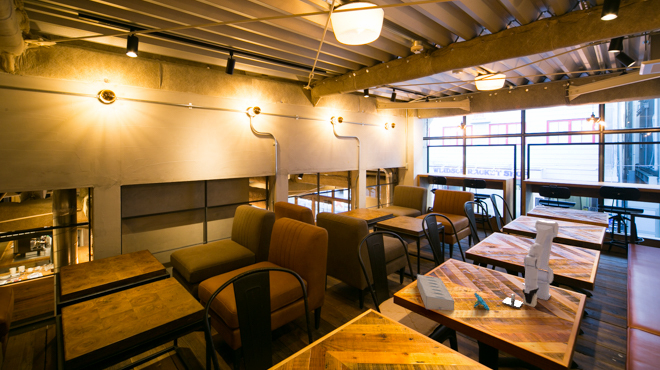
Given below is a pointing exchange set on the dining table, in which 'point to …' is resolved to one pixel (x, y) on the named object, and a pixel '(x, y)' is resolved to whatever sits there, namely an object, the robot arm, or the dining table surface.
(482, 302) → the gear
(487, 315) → the dining table surface
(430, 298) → the warehouse
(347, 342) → the dining table surface
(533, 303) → the square tube cup
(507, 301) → the shaft block
